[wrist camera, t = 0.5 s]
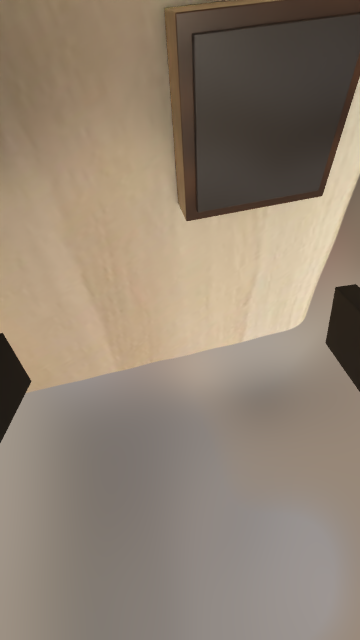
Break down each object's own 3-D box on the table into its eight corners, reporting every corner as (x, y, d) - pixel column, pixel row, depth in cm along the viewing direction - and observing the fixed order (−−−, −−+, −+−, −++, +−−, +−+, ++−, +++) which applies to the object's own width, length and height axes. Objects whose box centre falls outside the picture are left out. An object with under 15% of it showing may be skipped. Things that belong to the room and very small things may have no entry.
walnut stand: (164, 7, 20) (177, 13, 18) (355, -15, 21) (393, -13, 19) (178, 203, 31) (187, 224, 28) (305, 180, 32) (325, 198, 30)
